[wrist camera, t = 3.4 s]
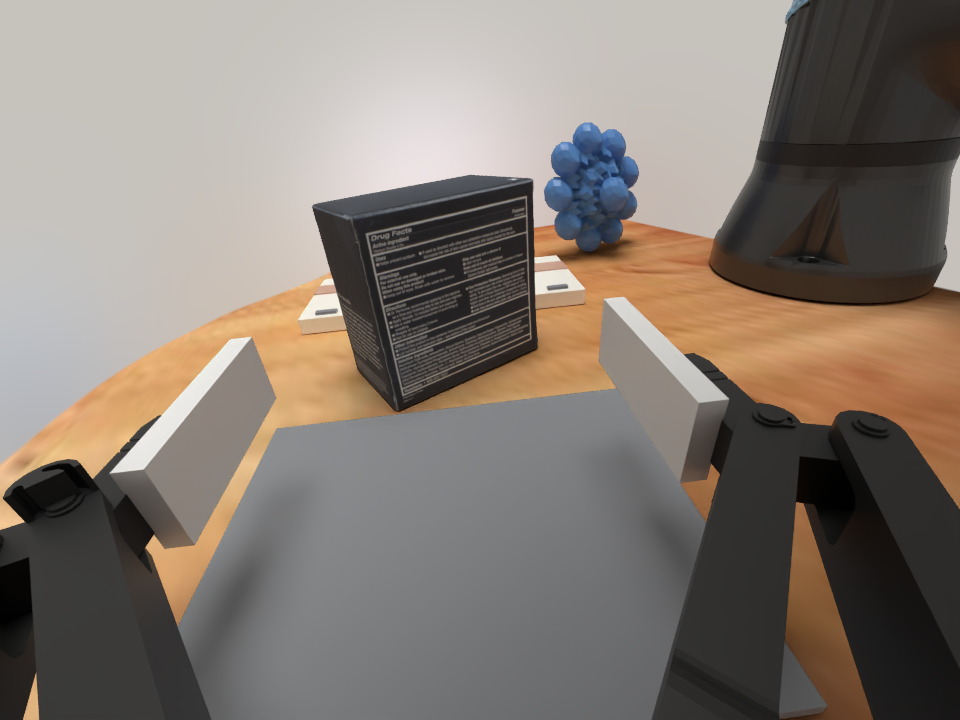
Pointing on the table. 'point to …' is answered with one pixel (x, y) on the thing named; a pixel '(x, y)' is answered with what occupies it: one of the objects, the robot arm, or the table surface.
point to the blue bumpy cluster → (592, 187)
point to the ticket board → (550, 291)
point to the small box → (434, 280)
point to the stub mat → (454, 571)
